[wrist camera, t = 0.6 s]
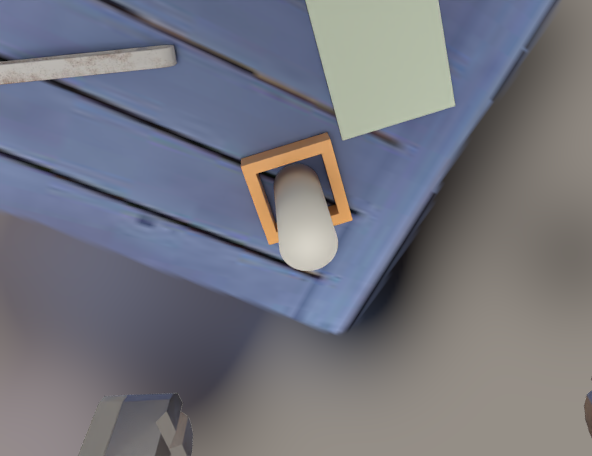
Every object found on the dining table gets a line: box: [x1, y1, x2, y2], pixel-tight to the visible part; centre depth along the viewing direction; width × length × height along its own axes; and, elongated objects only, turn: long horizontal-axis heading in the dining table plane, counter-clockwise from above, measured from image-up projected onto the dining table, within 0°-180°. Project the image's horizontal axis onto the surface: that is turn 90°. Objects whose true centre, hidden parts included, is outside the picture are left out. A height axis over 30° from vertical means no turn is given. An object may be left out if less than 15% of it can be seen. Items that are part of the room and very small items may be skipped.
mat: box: [305, 0, 455, 140], centre depth 52 cm, size 15×12×1 cm
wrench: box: [0, 45, 177, 85], centre depth 48 cm, size 8×2×30 cm
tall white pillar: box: [274, 164, 338, 271], centre depth 51 cm, size 5×5×14 cm
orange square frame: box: [241, 132, 352, 245], centre depth 56 cm, size 9×9×2 cm
